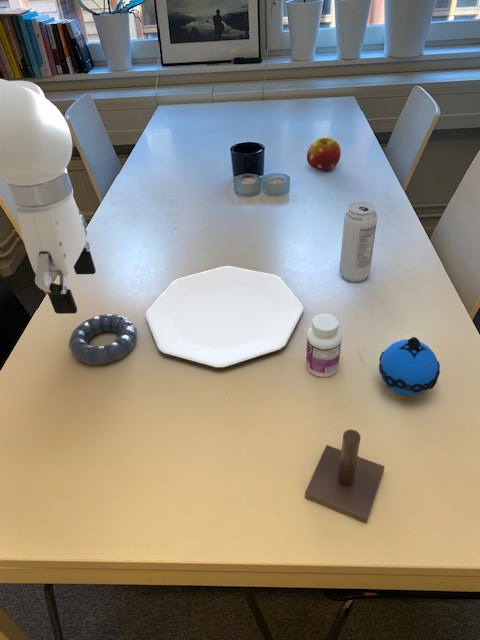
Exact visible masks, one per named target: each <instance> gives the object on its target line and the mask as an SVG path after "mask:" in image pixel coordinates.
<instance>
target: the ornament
mask: <svg viewBox="0 0 480 640" xmlns="http://www.w3.org/2000/svg"><path fill="white" fill-rule="evenodd" d="M378 361H379V364H378V370H379V371H378V372H379V374H380V376H381V379H382V381H383V382H384V384H385V385H386V386H387V387H388V388H389V389H390V390H391V391H393V392H395V393H397V394H400V395H403V396H417V395H421V394H423V393H425V392H427V391H428V390H429V391H430V390H431V391H432V389H433V388H434V387H435V386H436V384H437V383H438V379H439V376H440V374H441V369H440V368H441V366H440V362H439V360H438V359H437V356H436V354H435V353H434V350H432V349H431V347H429V346H428V345H427V344H425V343H424V342H422V341H420V339H419V338H417V337H415V336H412V337H410V338H409V339H400V340H397V341H395V342H393V343H391V344H390V345H389V346H388V347H386V348H385V349H384V351H382V352H381V354H380V356H379V360H378Z"/></svg>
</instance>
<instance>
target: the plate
mask: <svg viewBox="0 0 480 640" xmlns="http://www.w3.org/2000/svg"><path fill="white" fill-rule="evenodd" d="M303 313H304V305H303V304H302V301H300V300H299V299H298V298H297V296H296V294H294V293H293V291H292V290H291V289H290V288H289V286H288V284H286V283H285V281H284V280H283V279H282V278H281V277H280V276H278V275H276V274H272V273H267V272H263V271H258V270H252V269H246V268H242V267H237V266H232V265H224V266H219V267H216V268H212V269H208V270H205V271H201V272H197V273H193V274H190V275H186V276H183V277H182V276H181V277H179V278H176V279H174V280H173V281H171V282H170V284H169V285H167V287H166V288H165V290H163V291H162V293H160V295H159V296H158V297H157V298H156V299H155V301H154V302H153V303H152V304H151V305H150V306H149V307H148V309H146V311H145V315H144V316H145V319H146V321H147V324H148V327H149V329H150V331H151V334H152V337H153V340H154V342H155V344H156V346H157V347H156V348H157V349H158V351H159V352H161V353H162V354H164V355H167V356H171V357H174V358H178V359H182V360H185V361H189V362H193V363H197V364H201V365H204V366H208V367H211V368H215V369H225V368H227V367H231V366H234V365H237V364H241V363H244V362H247V361H250V360H252V359H253V360H254V359H257V358H259V357H263V356H265V355H268V354H271V353H274V352H275V353H276V352H278V351H281V350H282V349H283V348H284V347H286V346H287V344H288V342H289V340H290V338H291V336H292V334H293V332H294V330H295V328H296V326H297V324H298V322H299V320H300V318H301V317H302V315H303Z"/></svg>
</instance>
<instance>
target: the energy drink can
mask: <svg viewBox="0 0 480 640" xmlns="http://www.w3.org/2000/svg"><path fill="white" fill-rule="evenodd" d="M377 223H378V214H377V211H376V206H375V204H373V203H371V202H368V201H353V202H351V203H350V204H348V206H347V210H346V211H345V212H344V214H343V225H342V237H341V247H340V248H341V249H340V257H339V258H340V259H339V260H340V261H339V274H340V276H341V277H342V279H344V280H346V281H347V282H352V283H360V282H363V281H364V280H366V279H367V278H368V276H369V275H371V268H372V260H373V254H374V253H373V251H374V245H375V238H376V232H377V231H376V230H377V225H378V224H377Z"/></svg>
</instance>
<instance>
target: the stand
mask: <svg viewBox="0 0 480 640" xmlns="http://www.w3.org/2000/svg"><path fill="white" fill-rule="evenodd" d="M360 445H361V434H360V433H359V432H358V431H357V430H355V429H347V430H344V432H343V434H342V441H341V449H339V448H337V447H333V446H331V445H328V444H326V445H325V447H324V449H323V451H322V454H321V456H320V458H319V461H318V463H317V465H316V467H315V469H314V472H313V474H312V475H311V479H310V481H309V483H308V485H307V487H306V490H305V492H304V499H307V500H309V501H312V502H315V503H317V504H319V505H321V506H323V507H326V508H329V509H330V510H331V509H332V510H333V511H336V512H338V513H341V514H343V515H345V516H347V517H350V518H352V519H355V520H358V521H359V522H362V523H365V524H367V523H368V520H369V517H370V514H371V511H372V508H373V505H374V501H375V499H376V496H377V492H378V491H379V490H378V489H379V487H380V483H381V481H382V477H383V474H384V472H385V465H382V464H379V463H377V462H374V461H371V460H369V459H366V458H364V457H361V456H359V450H360Z"/></svg>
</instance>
